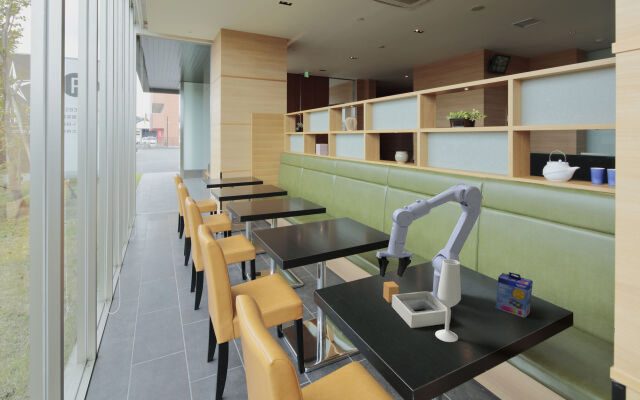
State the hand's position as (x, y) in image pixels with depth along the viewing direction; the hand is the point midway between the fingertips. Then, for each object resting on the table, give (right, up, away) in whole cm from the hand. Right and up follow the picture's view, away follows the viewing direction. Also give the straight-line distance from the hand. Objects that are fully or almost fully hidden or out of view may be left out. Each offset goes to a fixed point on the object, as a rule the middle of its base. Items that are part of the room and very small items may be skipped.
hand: (390, 275), depth 130 cm
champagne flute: (+13, -14, -23) cm, 29 cm away
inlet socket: (+8, -11, -9) cm, 17 cm away
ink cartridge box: (+41, -11, -7) cm, 43 cm away
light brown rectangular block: (0, -9, +2) cm, 10 cm away
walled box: (+8, -11, -9) cm, 17 cm away
